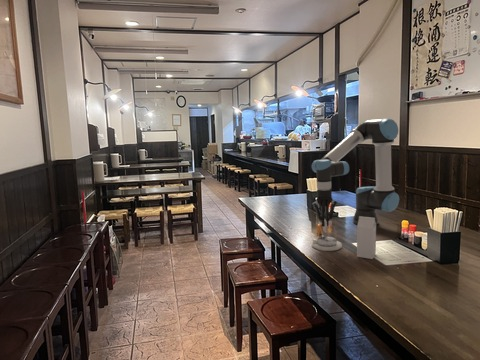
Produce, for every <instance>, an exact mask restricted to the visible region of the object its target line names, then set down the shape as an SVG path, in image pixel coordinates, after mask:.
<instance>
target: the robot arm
mask: <svg viewBox="0 0 480 360" xmlns="http://www.w3.org/2000/svg"><path fill="white" fill-rule="evenodd" d="M398 135H399V126H398V124H397V122H396V121H395V120H394V119H392V118H376V119H373V118H372V119H366V120H364V121H362V122H360V123H359V124H358V125H356V126H355V127H354V128H353V129H351V130H350V132H349V133H348V135H347V136H346V137H345V138H343V140H341V141H340V142H339V143H338V144H336V146H334V147H333V148H332V149H331V150H330V151H329V152H327V154H325V155H324V156H323V157H321V158H320V159H316V160H313V162H312V163H311V170H312V172H314V173H316V188H317V189H316V200H315V201H314V202H313V201H312V203H311V204H312V205H313V207H314V210H315V213H316V216H317V220H319V221H321V225H322V231H323V232H324V233H325V234H327V233H328V227H329V225H330V224H329V223H330V220H332V219H333V216H334V211H335V206H336V205H337V203H338V202H337V201H336V200H334V199H333V196H332V195H333V194H332V193H333V192H332V178H333V177H339V176H345V175H347V174H349V172H350V165H349V163H348V161H346V160H345V161H343V160H342V161H341V159H343V158H344V157H345V156H346V155H347V154H348V153H350V152H351V151H352V150H353V149H354V148H355V147H356V146H357V145H358V144H362V143H363V142H364V141H367V140H371V143H372V144H373V145H374V153H375V154H374V155H375V156H374V158H375V159H374V160H375V162H374V163H375V186H360V187H357V188H356V191H355V212H354V216H353V218H352V223H353V224H354V225H358V221H359V216H361V217H371V218H375V222H376V226H377V225H378V224H379V218H378V215H377V211H376V210H379V211H381V212H382V211H383V212H388V213H389V212H390V213H391V212H393V211H394V210H396V208H398V206H399V202H400V196H399V194H398V193H397V192H395V187H394V186H393V185H392V182H393V181H392V178H393V177H392V144H393V143H395V139H396V138H397V137H398ZM318 205H319V206H320V208H319V206H318ZM319 209H320V210H319Z"/></svg>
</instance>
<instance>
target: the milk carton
mask: <svg viewBox="0 0 480 360" xmlns="http://www.w3.org/2000/svg"><path fill="white" fill-rule="evenodd" d="M356 225H357V226H356V229H357V230H356V257H357V258H364V259H370V260H373V259H374V257H375V256H376V253H377V251H376V249H377V225H376V222H375V218H371V217H361V216H359V221H358V224H356Z"/></svg>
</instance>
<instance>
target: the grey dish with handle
mask: <svg viewBox="0 0 480 360" xmlns="http://www.w3.org/2000/svg"><path fill="white" fill-rule="evenodd" d="M316 237H317V238H316V239H317V244H318V245H321V246H326V247H330V246H335V245H337V241H338V239H337V238H335V237H332V236H326V235H323V226H322V224H316Z"/></svg>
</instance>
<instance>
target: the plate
mask: <svg viewBox="0 0 480 360" xmlns="http://www.w3.org/2000/svg"><path fill="white" fill-rule="evenodd" d="M317 239H318V238H313V239H312V244H311V247H312V248H313V249H315V250H318V251H323V252H334V251H339V250H341V249H342V247H343V243H342V242H340V241H338V240H337V245H335V246H330V247H326V246H321V245H318V244H317Z"/></svg>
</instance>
